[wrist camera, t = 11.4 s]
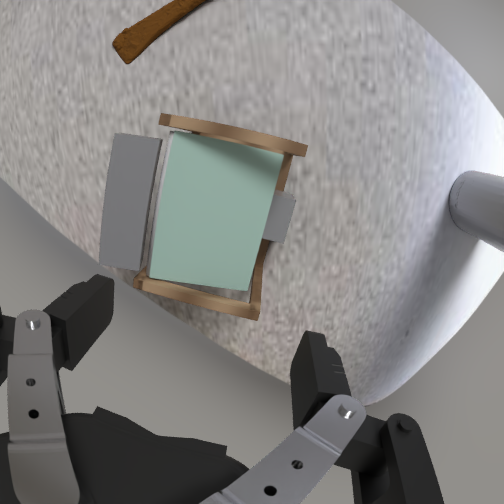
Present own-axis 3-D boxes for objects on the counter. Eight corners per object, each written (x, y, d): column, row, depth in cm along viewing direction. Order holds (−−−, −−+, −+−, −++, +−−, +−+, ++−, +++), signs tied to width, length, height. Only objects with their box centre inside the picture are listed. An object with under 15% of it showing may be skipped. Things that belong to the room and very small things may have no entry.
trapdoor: (277, 153, 29) (287, 155, 26) (243, 282, 33) (249, 295, 31) (124, 122, 25) (117, 121, 22) (105, 261, 29) (98, 274, 26)
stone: (252, 183, 37) (292, 194, 37) (243, 222, 39) (281, 232, 39) (250, 188, 32) (295, 200, 32) (239, 232, 34) (283, 243, 34)
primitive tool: (128, 66, 33) (116, 60, 30) (111, 43, 32) (99, 36, 29) (244, -12, 29) (242, -24, 26) (222, -33, 28) (219, -45, 25)
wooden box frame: (294, 147, 36) (308, 145, 24) (261, 270, 41) (257, 320, 29) (195, 124, 35) (161, 113, 23) (170, 246, 41) (133, 287, 29)
